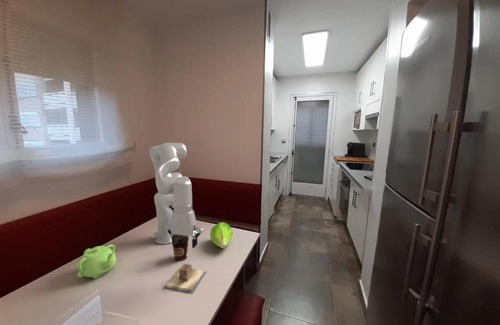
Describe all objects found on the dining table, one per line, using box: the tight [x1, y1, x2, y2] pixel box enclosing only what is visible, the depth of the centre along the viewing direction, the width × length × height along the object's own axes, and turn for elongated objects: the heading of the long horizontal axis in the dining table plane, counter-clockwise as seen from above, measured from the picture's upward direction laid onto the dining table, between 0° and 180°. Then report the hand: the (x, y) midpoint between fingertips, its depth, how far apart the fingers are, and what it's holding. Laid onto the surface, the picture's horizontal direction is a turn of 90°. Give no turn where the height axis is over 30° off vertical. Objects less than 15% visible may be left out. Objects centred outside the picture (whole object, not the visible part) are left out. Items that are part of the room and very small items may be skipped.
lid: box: [165, 263, 205, 292], centre depth 89 cm, size 12×12×6 cm
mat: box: [162, 270, 207, 295], centre depth 90 cm, size 14×14×1 cm
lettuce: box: [209, 221, 234, 249], centre depth 118 cm, size 14×20×12 cm
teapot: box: [76, 244, 117, 280], centre depth 95 cm, size 16×14×13 cm
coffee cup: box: [172, 235, 190, 262], centre depth 105 cm, size 9×8×13 cm
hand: (184, 245), depth 87 cm, fingers open, 9 cm apart
